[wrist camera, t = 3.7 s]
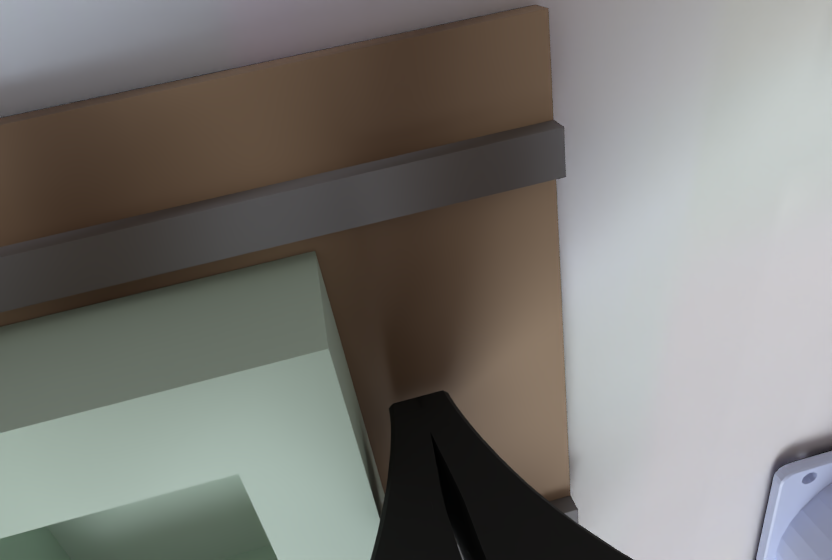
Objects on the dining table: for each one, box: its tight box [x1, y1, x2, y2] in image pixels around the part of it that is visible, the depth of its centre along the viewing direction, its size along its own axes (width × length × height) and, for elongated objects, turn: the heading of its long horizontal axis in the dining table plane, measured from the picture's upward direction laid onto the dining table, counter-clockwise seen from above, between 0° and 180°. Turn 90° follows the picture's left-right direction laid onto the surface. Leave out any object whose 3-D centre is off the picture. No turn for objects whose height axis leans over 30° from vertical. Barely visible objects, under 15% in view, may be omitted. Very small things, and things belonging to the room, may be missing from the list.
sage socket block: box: [0, 251, 385, 560], centre depth 13 cm, size 9×9×3 cm
